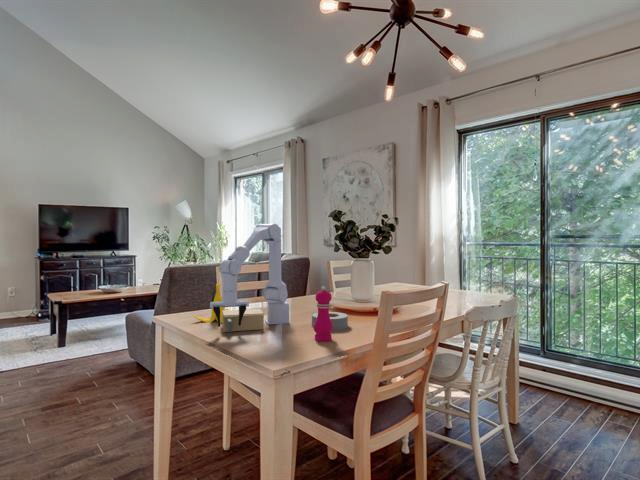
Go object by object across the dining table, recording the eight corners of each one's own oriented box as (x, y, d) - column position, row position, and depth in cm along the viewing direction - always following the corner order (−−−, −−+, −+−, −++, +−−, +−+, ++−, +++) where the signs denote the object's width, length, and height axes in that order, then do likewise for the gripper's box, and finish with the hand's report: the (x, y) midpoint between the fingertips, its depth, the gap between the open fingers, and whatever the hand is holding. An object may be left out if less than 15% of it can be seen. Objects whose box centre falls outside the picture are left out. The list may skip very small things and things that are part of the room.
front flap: (263, 328, 160) (263, 314, 160) (265, 332, 154) (265, 317, 154) (224, 331, 156) (224, 316, 155) (225, 335, 150) (225, 319, 150)
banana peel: (233, 324, 169) (233, 286, 169) (192, 323, 171) (192, 285, 171) (245, 316, 185) (245, 281, 185) (207, 315, 188) (207, 280, 188)
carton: (260, 323, 170) (260, 308, 170) (263, 329, 161) (263, 313, 160) (222, 326, 165) (222, 310, 165) (223, 331, 156) (223, 315, 156)
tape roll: (323, 321, 177) (323, 310, 177) (353, 325, 170) (353, 313, 169) (304, 328, 164) (305, 316, 164) (336, 333, 156) (337, 320, 156)
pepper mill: (316, 342, 142) (316, 287, 141) (311, 337, 149) (311, 285, 148) (335, 341, 144) (335, 287, 143) (329, 336, 151) (329, 284, 150)
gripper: (210, 292, 145) (210, 329, 146) (249, 291, 150) (249, 326, 150) (210, 290, 152) (209, 324, 152) (247, 289, 156) (247, 322, 157)
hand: (229, 325), depth 152 cm, fingers open, 7 cm apart
